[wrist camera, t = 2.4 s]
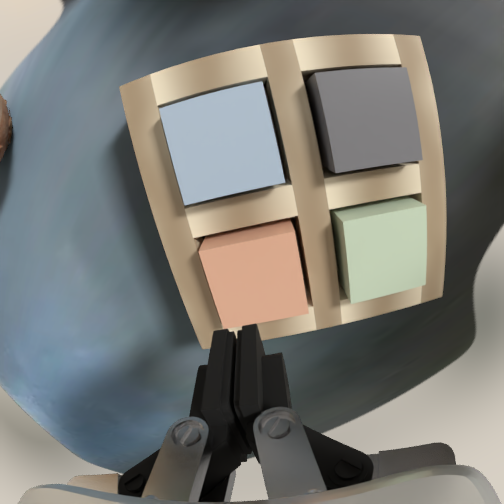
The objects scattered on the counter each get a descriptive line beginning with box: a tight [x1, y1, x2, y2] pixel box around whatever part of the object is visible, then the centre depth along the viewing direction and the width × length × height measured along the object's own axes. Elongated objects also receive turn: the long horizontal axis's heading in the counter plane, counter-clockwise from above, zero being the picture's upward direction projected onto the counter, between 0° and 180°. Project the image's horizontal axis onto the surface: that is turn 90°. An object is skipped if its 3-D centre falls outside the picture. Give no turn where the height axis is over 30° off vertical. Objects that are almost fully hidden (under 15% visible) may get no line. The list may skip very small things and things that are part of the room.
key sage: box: [330, 195, 427, 304], centre depth 17 cm, size 5×5×3 cm
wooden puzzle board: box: [119, 34, 446, 349], centre depth 18 cm, size 17×17×5 cm
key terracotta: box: [198, 218, 309, 329], centre depth 18 cm, size 5×5×3 cm
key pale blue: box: [159, 81, 285, 205], centre depth 15 cm, size 5×5×3 cm
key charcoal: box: [305, 67, 423, 173], centre depth 14 cm, size 5×5×3 cm
